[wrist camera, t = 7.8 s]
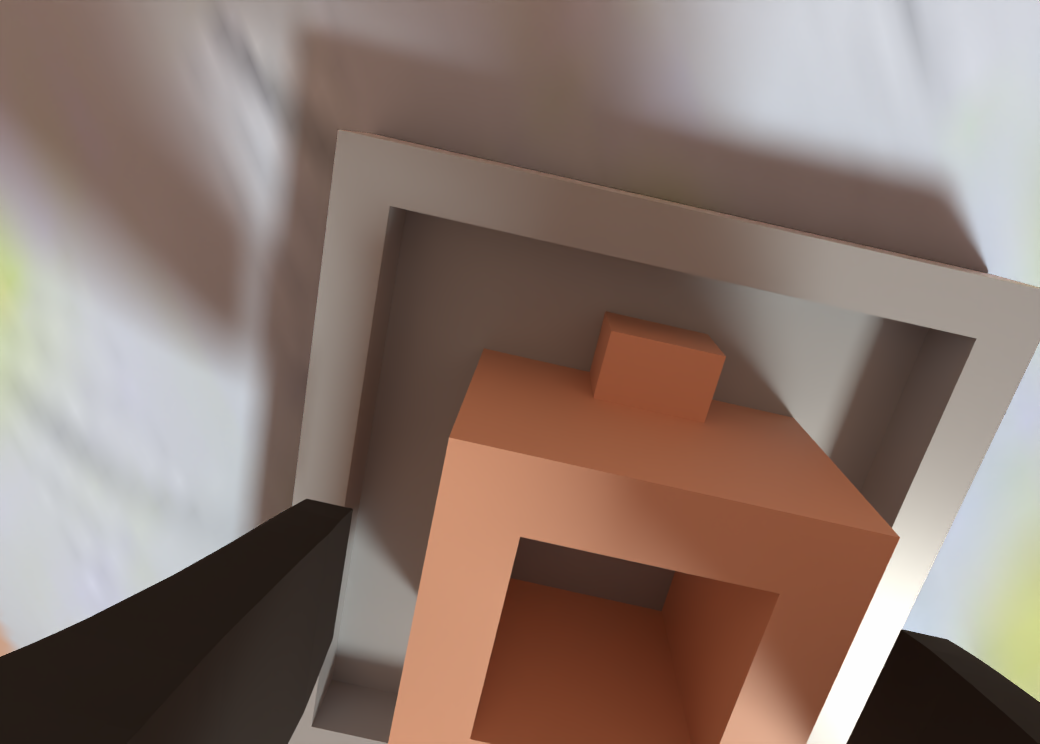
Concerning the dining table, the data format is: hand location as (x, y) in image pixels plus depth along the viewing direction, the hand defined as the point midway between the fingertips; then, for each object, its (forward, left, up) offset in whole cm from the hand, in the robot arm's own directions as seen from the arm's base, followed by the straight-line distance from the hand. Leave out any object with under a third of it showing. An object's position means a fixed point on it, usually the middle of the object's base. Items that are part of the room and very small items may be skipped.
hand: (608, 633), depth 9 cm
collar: (0, 0, -3) cm, 3 cm away
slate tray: (0, 0, -3) cm, 3 cm away
